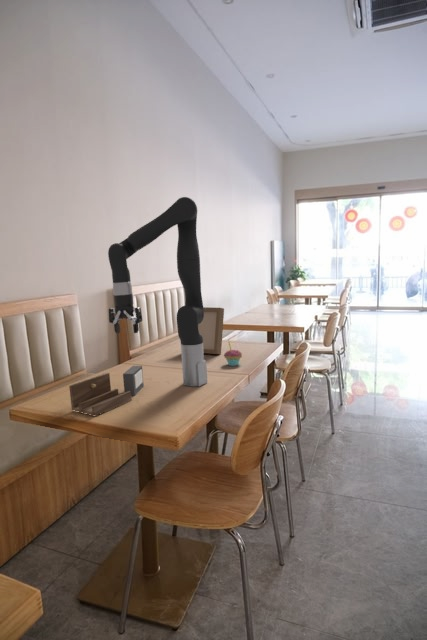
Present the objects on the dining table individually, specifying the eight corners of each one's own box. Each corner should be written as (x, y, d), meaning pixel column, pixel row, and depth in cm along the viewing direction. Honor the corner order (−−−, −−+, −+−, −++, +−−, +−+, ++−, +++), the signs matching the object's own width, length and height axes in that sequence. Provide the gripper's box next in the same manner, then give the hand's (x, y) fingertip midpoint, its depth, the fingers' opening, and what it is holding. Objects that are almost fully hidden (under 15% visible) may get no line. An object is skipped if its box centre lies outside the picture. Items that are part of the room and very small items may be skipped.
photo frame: (216, 355, 222) (214, 308, 219) (183, 353, 234) (180, 308, 231) (230, 350, 235) (228, 305, 232) (198, 347, 246) (195, 305, 243)
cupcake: (222, 366, 201) (220, 341, 200) (228, 361, 209) (227, 338, 207) (239, 367, 198) (238, 342, 196) (244, 362, 206) (243, 338, 204)
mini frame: (144, 386, 176) (142, 365, 175) (135, 396, 164) (133, 373, 163) (134, 386, 177) (132, 365, 175) (124, 396, 165) (122, 373, 164)
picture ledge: (131, 400, 159) (129, 376, 158) (95, 416, 144) (92, 390, 143) (109, 396, 166) (107, 372, 164) (72, 411, 151) (69, 385, 149)
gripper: (143, 291, 171) (146, 331, 174) (113, 293, 176) (117, 331, 179) (133, 293, 164) (137, 334, 167) (102, 295, 169) (106, 334, 172)
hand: (126, 332), depth 173 cm, fingers open, 8 cm apart
